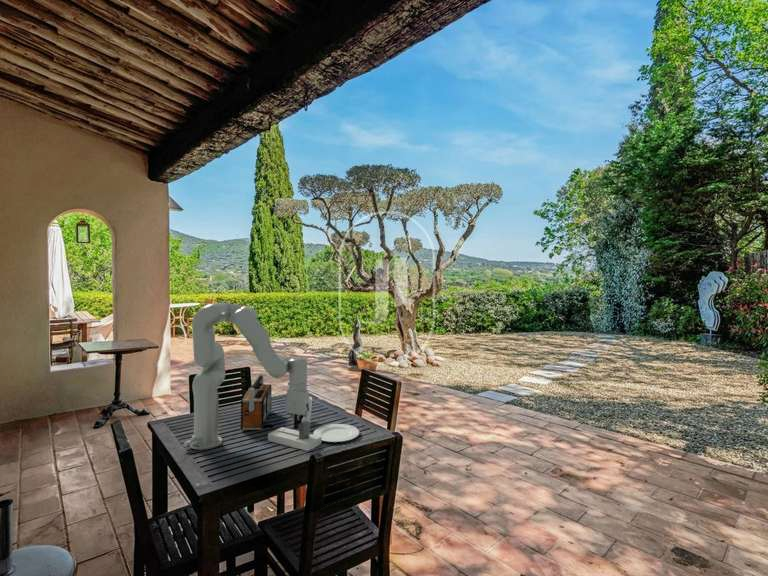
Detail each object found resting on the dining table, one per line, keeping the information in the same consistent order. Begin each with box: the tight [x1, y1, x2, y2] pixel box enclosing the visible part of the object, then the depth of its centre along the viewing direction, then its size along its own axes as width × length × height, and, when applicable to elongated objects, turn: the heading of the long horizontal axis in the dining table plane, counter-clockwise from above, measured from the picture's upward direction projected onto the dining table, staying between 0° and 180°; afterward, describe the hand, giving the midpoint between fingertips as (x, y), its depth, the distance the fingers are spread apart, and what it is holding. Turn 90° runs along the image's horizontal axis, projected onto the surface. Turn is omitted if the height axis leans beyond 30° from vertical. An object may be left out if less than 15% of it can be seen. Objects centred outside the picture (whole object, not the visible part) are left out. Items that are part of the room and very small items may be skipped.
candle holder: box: [292, 395, 313, 425], centre depth 198 cm, size 10×10×12 cm
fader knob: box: [298, 421, 312, 439], centre depth 172 cm, size 5×3×6 cm, turn 153°
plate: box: [313, 423, 360, 444], centre depth 182 cm, size 21×21×2 cm
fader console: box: [267, 426, 323, 452], centre depth 175 cm, size 9×22×3 cm, turn 63°
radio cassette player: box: [240, 374, 273, 431], centre depth 199 cm, size 29×10×20 cm, turn 8°
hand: (297, 428), depth 174 cm, fingers closed
